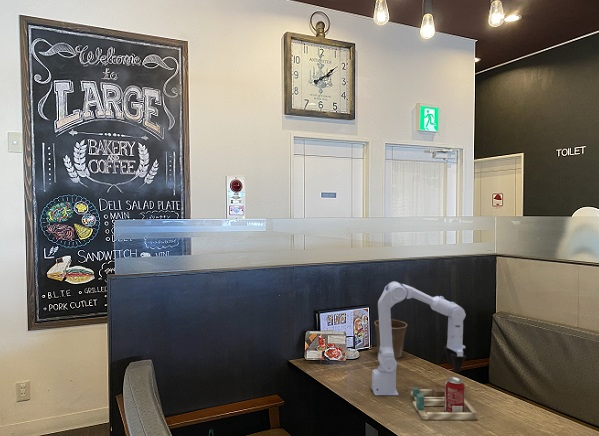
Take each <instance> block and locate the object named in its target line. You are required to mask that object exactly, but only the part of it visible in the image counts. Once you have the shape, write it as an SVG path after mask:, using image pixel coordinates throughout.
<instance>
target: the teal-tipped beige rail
mask: <svg viewBox="0 0 599 436" xmlns="http://www.w3.org/2000/svg"><path fill="white" fill-rule="evenodd" d="M424 397H425V395H423V394H417V396H416V401H414V400H412V405H413V407H414V408H415V410H416V412H417V413H418V415H419V417H420V418H421V420H436V421H437V420H441V421H442V420H447V421H449V420H454V421H455V420H459V421H460V420H462V421H463V420H466V421H470V420H471V421H473V420H475V421H476V420H478V412H477V410H475V408H474V407H473V406H472V405H471V404H470V403H469V401H467V399H466V398H465V397H464V412H446V411H445V412H443V411H441V412H438V411H435V412H434V411H433V412H432V411H431V412H429V411H428V412H426V411H425V407H445V399H424Z"/></svg>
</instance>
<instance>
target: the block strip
mask: <svg viewBox="0 0 599 436" xmlns="http://www.w3.org/2000/svg"><path fill="white" fill-rule="evenodd" d="M419 388H420V387H417V386H415V387H414V386H412V391H410V396H411V397H412V398H413V401H416V396H417V394H423V396H424V399H445V397H432V389H431V388H430V389H428V388H427V389H424V388H423V389H422V388H421V389H419Z"/></svg>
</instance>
